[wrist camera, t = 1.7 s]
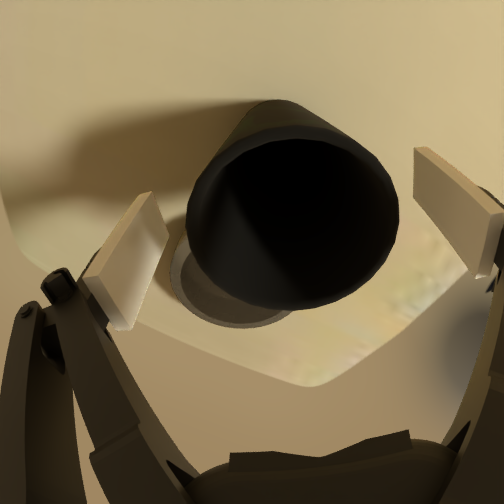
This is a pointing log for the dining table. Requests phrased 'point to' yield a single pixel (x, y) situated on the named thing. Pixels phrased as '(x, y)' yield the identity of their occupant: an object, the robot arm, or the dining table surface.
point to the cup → (291, 211)
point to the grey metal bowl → (213, 295)
